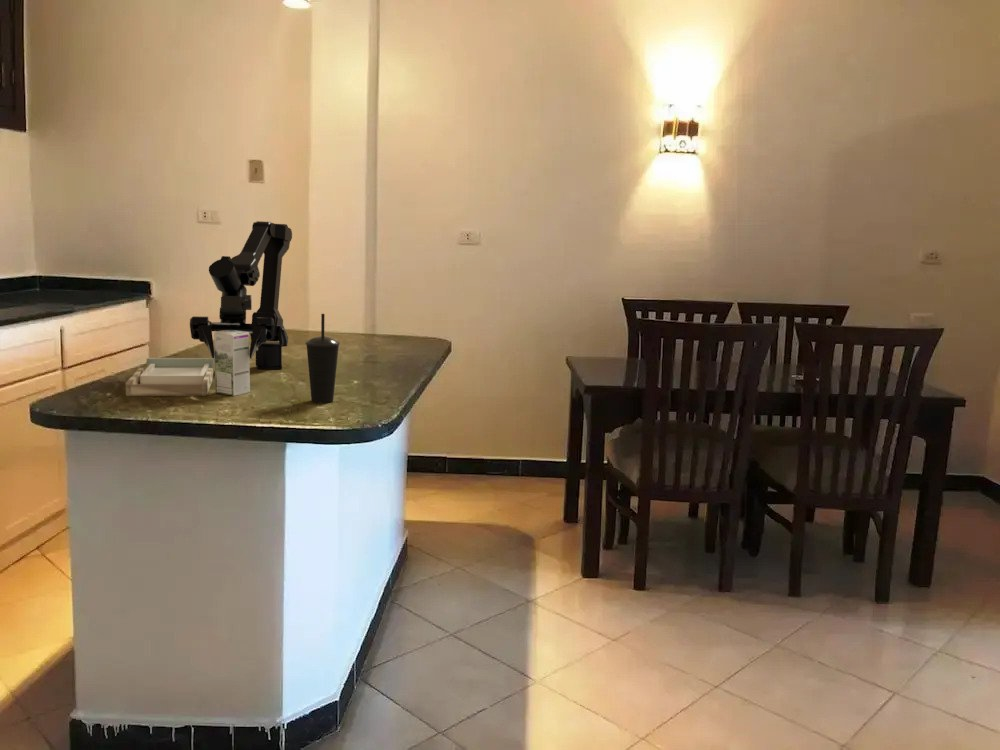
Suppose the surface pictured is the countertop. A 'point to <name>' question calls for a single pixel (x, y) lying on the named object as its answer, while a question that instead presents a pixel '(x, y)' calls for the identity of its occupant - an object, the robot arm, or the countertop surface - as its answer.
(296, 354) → the countertop surface
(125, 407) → the countertop surface
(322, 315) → the drinking cup
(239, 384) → the syrup box
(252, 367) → the countertop surface
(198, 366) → the tray
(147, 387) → the dock
